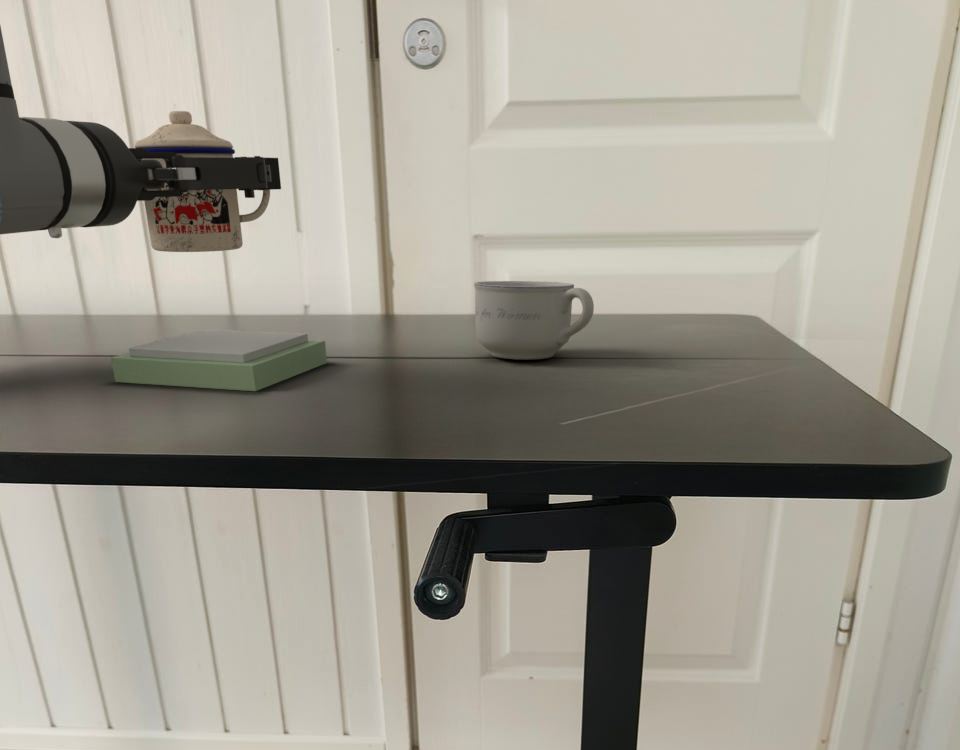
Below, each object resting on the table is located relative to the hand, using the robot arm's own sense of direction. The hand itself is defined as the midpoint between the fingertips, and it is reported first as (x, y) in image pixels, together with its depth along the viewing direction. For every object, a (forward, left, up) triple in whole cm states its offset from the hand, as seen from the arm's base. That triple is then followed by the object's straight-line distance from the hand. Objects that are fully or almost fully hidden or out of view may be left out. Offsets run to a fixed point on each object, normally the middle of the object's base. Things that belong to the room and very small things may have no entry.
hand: (224, 174), depth 90 cm
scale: (-1, -4, -18) cm, 19 cm away
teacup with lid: (0, -4, -7) cm, 8 cm away
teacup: (+28, +12, -19) cm, 36 cm away
